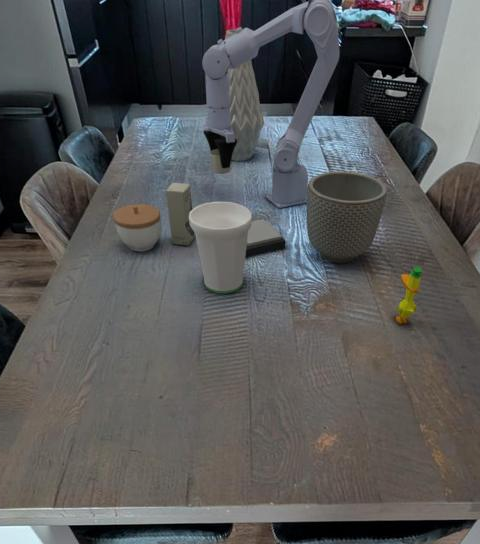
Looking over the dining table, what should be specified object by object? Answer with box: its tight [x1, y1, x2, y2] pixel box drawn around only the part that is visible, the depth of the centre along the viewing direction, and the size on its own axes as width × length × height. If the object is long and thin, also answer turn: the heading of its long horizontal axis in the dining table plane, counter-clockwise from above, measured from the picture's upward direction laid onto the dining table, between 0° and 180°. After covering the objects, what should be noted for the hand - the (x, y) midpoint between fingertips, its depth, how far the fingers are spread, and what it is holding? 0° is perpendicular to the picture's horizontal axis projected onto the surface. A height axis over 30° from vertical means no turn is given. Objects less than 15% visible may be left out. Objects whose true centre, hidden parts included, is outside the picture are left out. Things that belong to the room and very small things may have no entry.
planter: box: [306, 170, 388, 264], centre depth 108 cm, size 17×17×16 cm
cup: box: [189, 201, 252, 294], centre depth 99 cm, size 12×12×15 cm
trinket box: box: [112, 203, 162, 252], centre depth 112 cm, size 11×11×9 cm
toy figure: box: [395, 266, 423, 325], centre depth 92 cm, size 7×4×12 cm, turn 13°
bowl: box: [209, 149, 233, 175], centre depth 129 cm, size 6×6×5 cm
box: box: [165, 182, 196, 246], centre depth 112 cm, size 5×4×13 cm
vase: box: [224, 29, 265, 162], centre depth 146 cm, size 17×17×33 cm
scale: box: [245, 218, 287, 259], centre depth 116 cm, size 12×12×3 cm
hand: (221, 163), depth 129 cm, fingers closed on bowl, 6 cm apart
